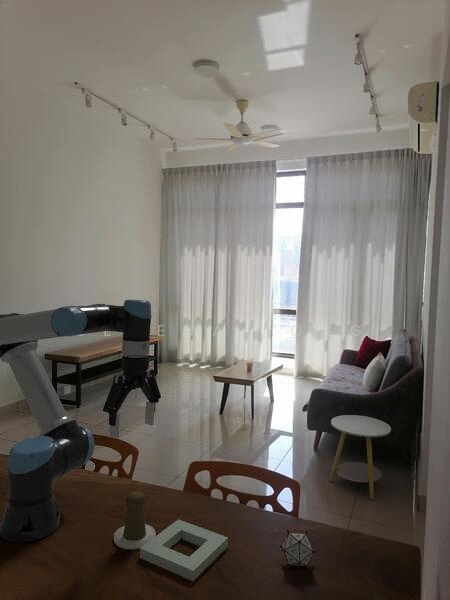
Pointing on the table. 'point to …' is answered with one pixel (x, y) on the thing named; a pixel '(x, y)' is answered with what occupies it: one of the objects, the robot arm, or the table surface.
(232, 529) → the table surface
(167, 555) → the frame
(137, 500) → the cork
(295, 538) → the game die
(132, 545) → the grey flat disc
